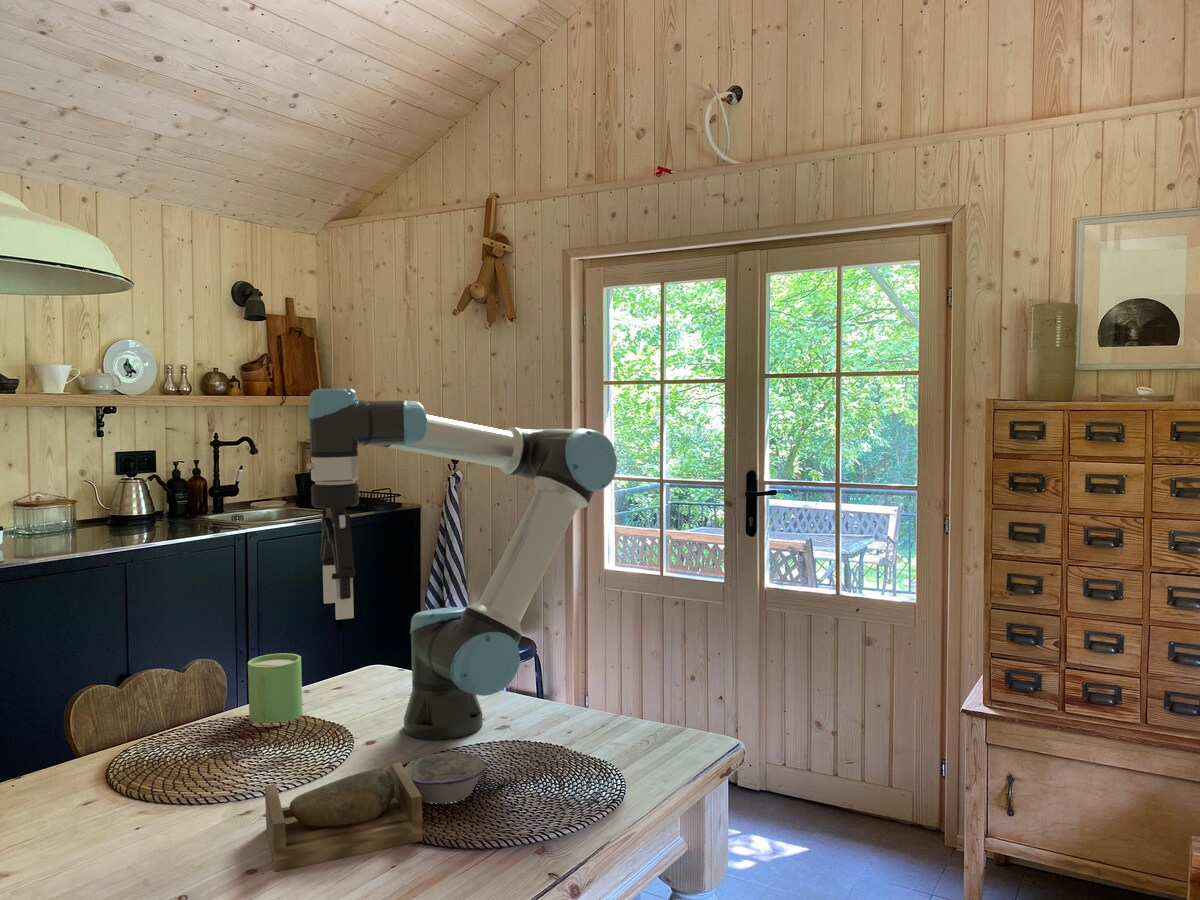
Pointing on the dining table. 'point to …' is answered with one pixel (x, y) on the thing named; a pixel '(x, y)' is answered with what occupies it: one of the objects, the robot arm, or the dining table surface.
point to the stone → (346, 800)
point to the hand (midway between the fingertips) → (338, 610)
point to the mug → (275, 688)
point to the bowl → (445, 775)
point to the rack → (343, 828)
